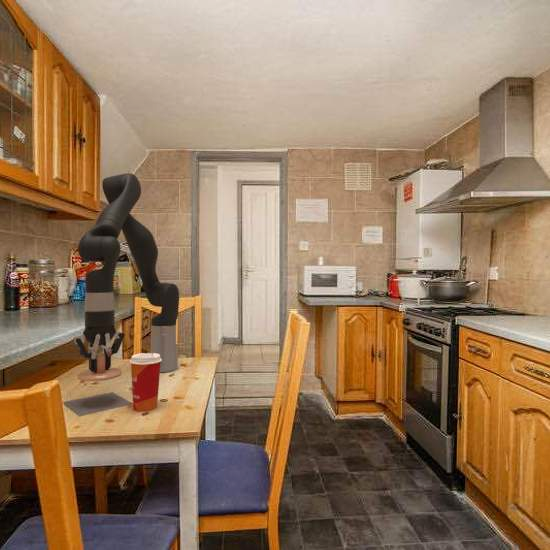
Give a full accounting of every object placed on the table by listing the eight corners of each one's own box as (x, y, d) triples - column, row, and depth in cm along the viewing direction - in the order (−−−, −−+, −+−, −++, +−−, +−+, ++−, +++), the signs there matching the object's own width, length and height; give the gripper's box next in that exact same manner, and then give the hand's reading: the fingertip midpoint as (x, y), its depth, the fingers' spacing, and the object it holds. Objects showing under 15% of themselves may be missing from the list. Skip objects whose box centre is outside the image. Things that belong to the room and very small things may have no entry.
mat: (112, 395, 118) (112, 392, 118) (133, 407, 108) (133, 403, 108) (61, 406, 108) (61, 402, 108) (79, 420, 98) (79, 416, 98)
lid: (111, 368, 116) (111, 348, 116) (128, 375, 108) (128, 354, 108) (71, 375, 108) (71, 354, 108) (87, 383, 100) (87, 361, 100)
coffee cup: (133, 406, 109) (134, 352, 109) (163, 405, 110) (164, 352, 110) (124, 417, 101) (125, 358, 101) (157, 416, 101) (158, 358, 101)
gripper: (118, 305, 115) (118, 364, 116) (67, 309, 105) (67, 373, 106) (130, 308, 110) (130, 368, 110) (77, 311, 100) (78, 378, 100)
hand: (99, 370), depth 108 cm, fingers closed on lid, 2 cm apart
